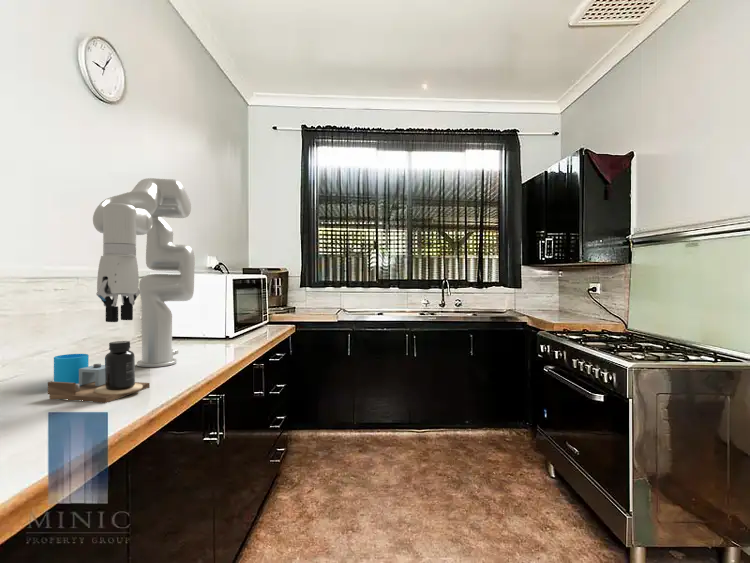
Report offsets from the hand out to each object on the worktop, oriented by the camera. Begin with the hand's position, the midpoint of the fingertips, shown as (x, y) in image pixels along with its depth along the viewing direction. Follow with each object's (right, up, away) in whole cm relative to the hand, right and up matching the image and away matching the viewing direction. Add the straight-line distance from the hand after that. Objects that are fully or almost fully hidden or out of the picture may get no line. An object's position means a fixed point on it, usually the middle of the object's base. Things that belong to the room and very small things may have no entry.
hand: (119, 320), depth 118 cm
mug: (-20, -19, +12) cm, 30 cm away
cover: (-9, -18, +6) cm, 21 cm away
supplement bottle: (0, -18, 0) cm, 18 cm away
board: (-5, -19, +1) cm, 20 cm away
